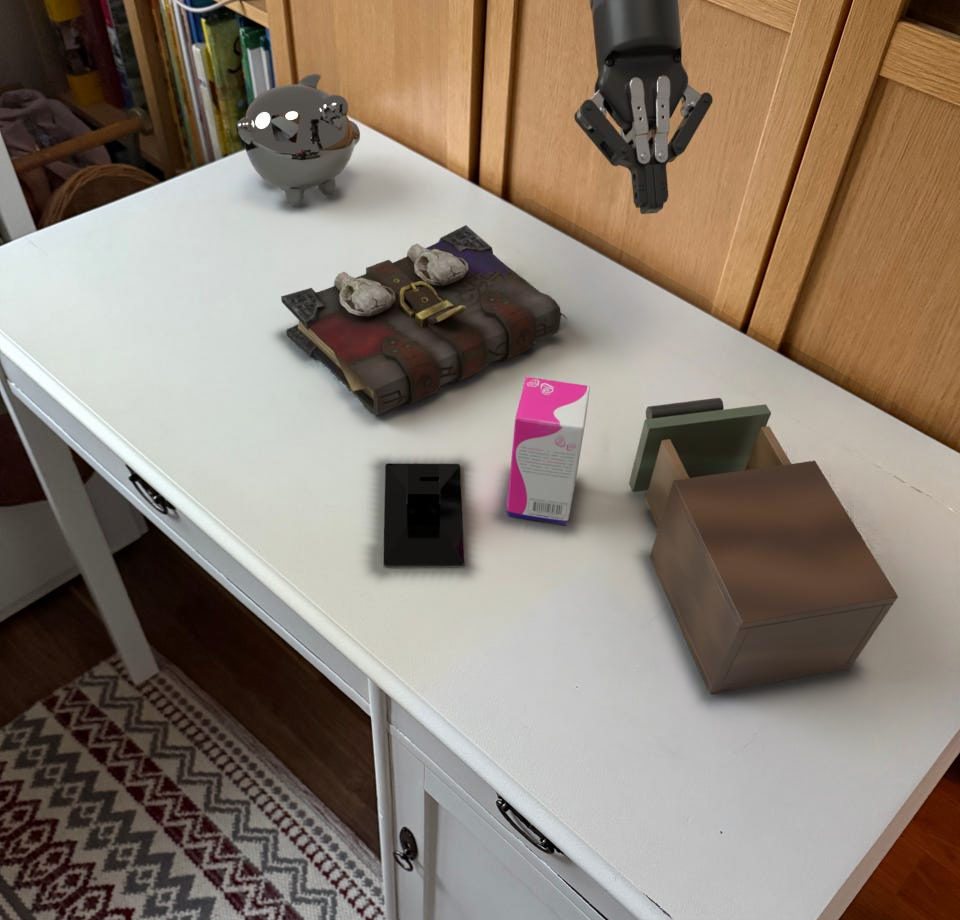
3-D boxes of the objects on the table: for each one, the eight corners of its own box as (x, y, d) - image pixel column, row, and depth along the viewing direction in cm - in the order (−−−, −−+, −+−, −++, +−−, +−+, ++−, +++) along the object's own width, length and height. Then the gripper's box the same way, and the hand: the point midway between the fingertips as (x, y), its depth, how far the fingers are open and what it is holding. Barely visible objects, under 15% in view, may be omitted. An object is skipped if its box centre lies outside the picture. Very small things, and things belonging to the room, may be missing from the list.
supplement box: (575, 481, 88) (593, 384, 79) (567, 526, 85) (585, 431, 76) (514, 471, 89) (525, 373, 79) (504, 516, 85) (514, 419, 76)
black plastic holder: (464, 568, 82) (466, 532, 78) (380, 568, 81) (378, 533, 78) (459, 466, 89) (461, 429, 85) (382, 465, 88) (380, 428, 85)
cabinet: (649, 557, 83) (672, 479, 76) (779, 537, 86) (815, 460, 78) (709, 693, 75) (742, 623, 68) (851, 668, 77) (898, 596, 70)
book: (372, 430, 91) (368, 368, 85) (280, 333, 99) (271, 270, 93) (581, 337, 101) (590, 276, 95) (482, 256, 109) (485, 195, 103)
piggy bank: (380, 195, 115) (377, 97, 106) (267, 226, 110) (253, 126, 101) (339, 152, 121) (332, 55, 111) (229, 180, 115) (212, 81, 106)
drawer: (614, 451, 90) (628, 386, 83) (724, 437, 92) (747, 372, 85) (678, 596, 80) (700, 534, 73) (801, 576, 82) (832, 514, 75)
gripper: (575, -15, 78) (596, 205, 81) (722, -21, 80) (737, 193, 84) (551, 27, 86) (571, 228, 89) (686, 21, 88) (702, 217, 91)
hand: (652, 211), depth 86 cm, fingers closed
